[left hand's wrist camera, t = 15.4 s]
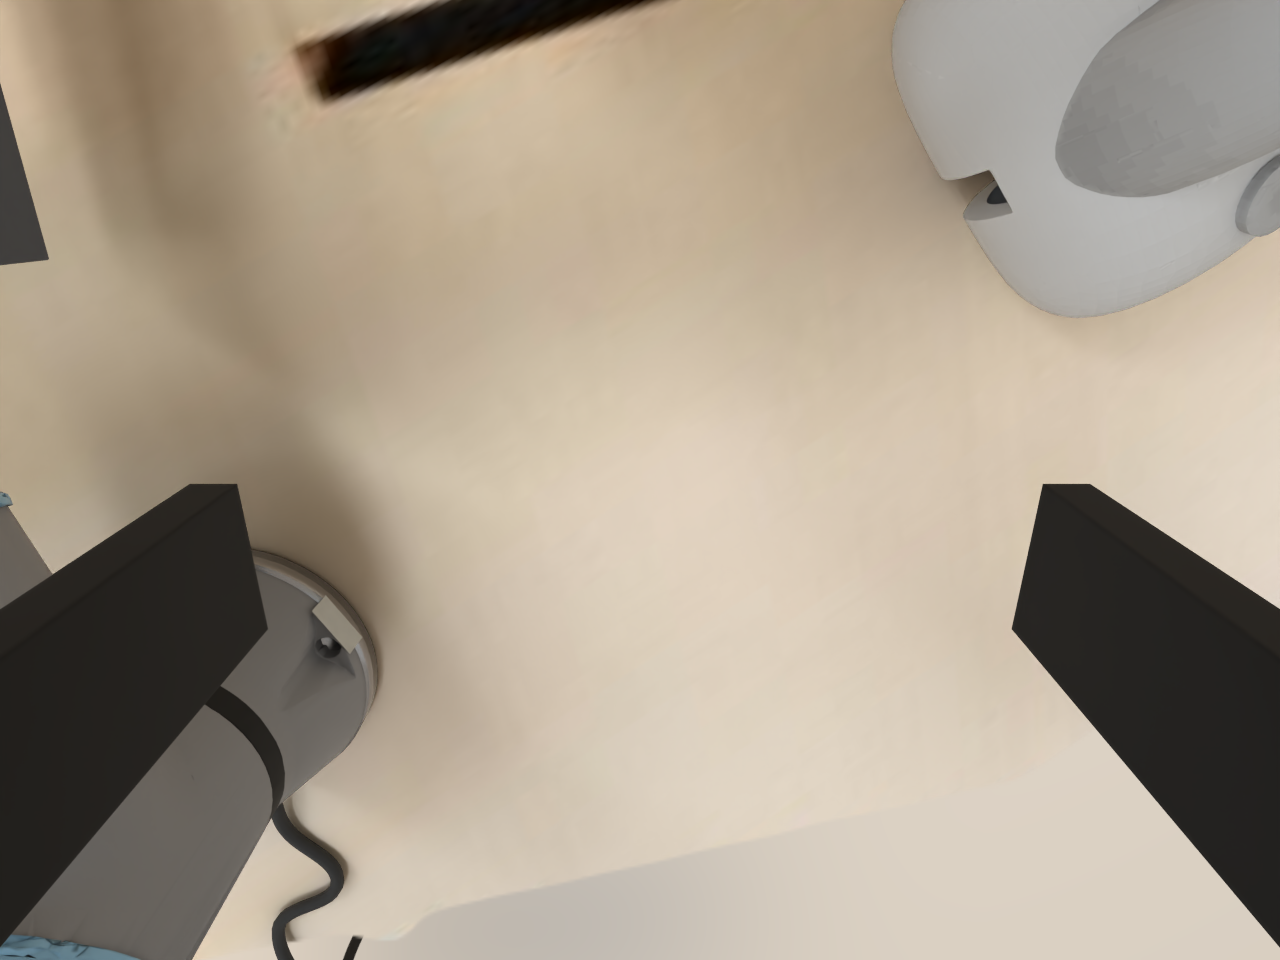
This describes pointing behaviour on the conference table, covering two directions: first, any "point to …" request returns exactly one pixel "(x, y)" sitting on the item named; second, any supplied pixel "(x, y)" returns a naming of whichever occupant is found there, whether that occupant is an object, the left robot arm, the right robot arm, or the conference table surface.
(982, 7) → the projector
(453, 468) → the conference table surface
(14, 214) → the bar
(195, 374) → the conference table surface
